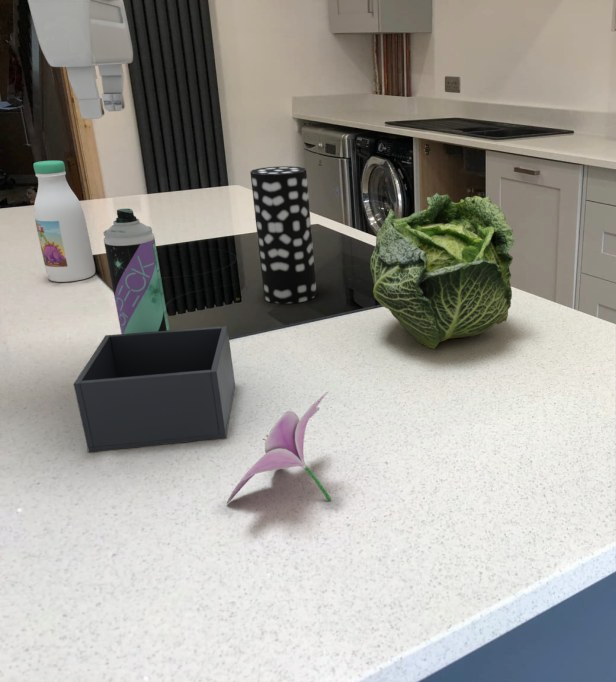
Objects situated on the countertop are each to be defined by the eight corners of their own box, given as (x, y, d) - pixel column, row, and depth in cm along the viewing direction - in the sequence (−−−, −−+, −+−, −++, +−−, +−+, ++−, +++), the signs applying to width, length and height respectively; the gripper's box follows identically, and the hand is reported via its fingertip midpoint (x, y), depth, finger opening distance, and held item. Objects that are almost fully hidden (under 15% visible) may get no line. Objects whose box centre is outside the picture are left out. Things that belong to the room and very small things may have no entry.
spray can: (126, 364, 93) (97, 207, 86) (171, 356, 95) (146, 203, 88) (130, 380, 89) (99, 216, 81) (178, 371, 91) (152, 211, 84)
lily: (342, 457, 73) (290, 378, 71) (399, 462, 64) (341, 371, 61) (244, 538, 67) (184, 454, 65) (291, 557, 58) (221, 460, 55)
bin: (88, 452, 73) (73, 383, 70) (117, 395, 85) (105, 335, 82) (226, 438, 75) (216, 371, 72) (235, 384, 87) (227, 325, 84)
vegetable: (414, 395, 100) (406, 296, 84) (354, 303, 110) (337, 200, 95) (535, 338, 106) (549, 236, 90) (467, 256, 117) (469, 152, 101)
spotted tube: (255, 294, 119) (240, 170, 112) (300, 284, 124) (289, 164, 117) (279, 307, 113) (265, 176, 106) (326, 296, 118) (316, 170, 111)
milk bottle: (89, 268, 135) (67, 157, 128) (101, 277, 130) (79, 161, 122) (43, 276, 130) (17, 161, 123) (54, 285, 125) (28, 166, 118)
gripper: (71, -30, 77) (96, 107, 82) (1, -56, 59) (39, 124, 64) (135, -29, 78) (155, 106, 84) (86, -54, 60) (116, 122, 65)
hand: (105, 114), depth 73 cm, fingers open, 8 cm apart
